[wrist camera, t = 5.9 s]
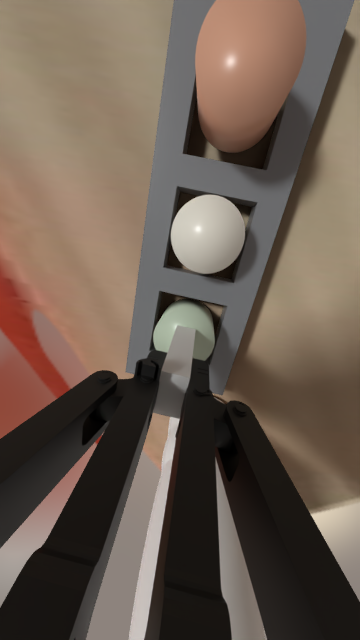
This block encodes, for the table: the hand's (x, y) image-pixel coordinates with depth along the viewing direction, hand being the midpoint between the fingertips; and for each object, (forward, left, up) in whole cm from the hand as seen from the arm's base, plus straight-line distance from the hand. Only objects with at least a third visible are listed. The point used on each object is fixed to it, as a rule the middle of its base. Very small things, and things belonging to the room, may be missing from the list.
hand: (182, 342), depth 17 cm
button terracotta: (-16, 0, -2) cm, 16 cm away
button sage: (0, 0, -4) cm, 4 cm away
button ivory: (-8, 0, -4) cm, 9 cm away
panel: (-8, 0, -5) cm, 9 cm away
